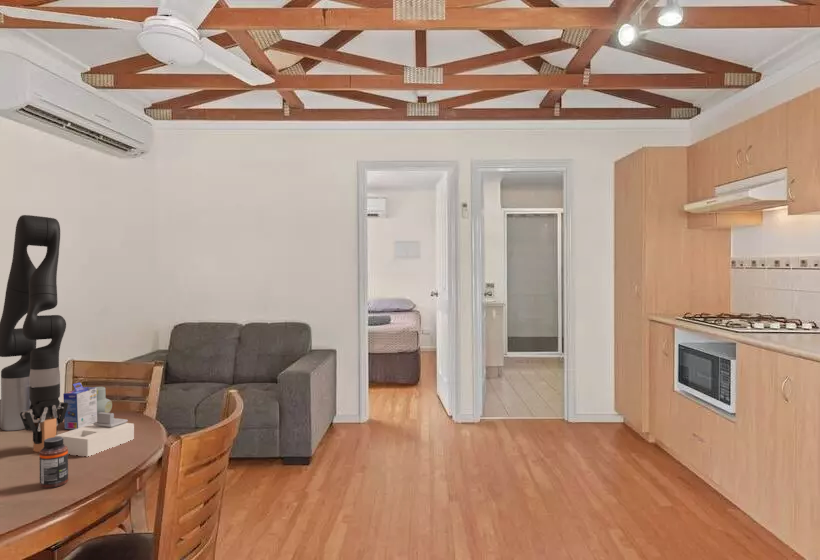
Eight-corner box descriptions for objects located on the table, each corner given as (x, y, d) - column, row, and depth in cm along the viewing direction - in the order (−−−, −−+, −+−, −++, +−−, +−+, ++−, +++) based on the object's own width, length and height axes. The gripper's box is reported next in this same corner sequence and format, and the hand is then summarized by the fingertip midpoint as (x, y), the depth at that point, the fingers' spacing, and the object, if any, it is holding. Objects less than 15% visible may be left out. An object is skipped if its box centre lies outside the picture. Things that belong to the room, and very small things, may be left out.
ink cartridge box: (83, 421, 191) (83, 380, 191) (98, 421, 190) (98, 380, 190) (62, 429, 181) (62, 386, 181) (78, 430, 180) (78, 386, 180)
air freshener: (102, 419, 194) (102, 391, 194) (77, 419, 193) (77, 391, 193) (114, 411, 205) (114, 384, 205) (90, 412, 204) (90, 385, 203)
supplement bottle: (48, 480, 137) (48, 435, 137) (73, 479, 138) (73, 435, 138) (34, 489, 131) (34, 442, 131) (60, 488, 132) (60, 442, 132)
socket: (55, 452, 158) (55, 435, 158) (103, 435, 174) (103, 420, 174) (87, 457, 154) (87, 439, 154) (133, 439, 171) (133, 423, 171)
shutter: (93, 425, 167) (93, 413, 167) (110, 419, 173) (110, 408, 173) (111, 426, 165) (111, 415, 165) (127, 421, 171) (127, 410, 171)
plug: (33, 451, 159) (33, 412, 159) (45, 447, 163) (45, 409, 162) (44, 452, 158) (44, 413, 158) (56, 448, 161) (56, 410, 161)
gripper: (56, 377, 168) (57, 433, 168) (11, 387, 154) (11, 447, 154) (75, 379, 166) (76, 435, 166) (31, 388, 152) (31, 450, 152)
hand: (44, 441), depth 160 cm, fingers closed on plug, 3 cm apart
